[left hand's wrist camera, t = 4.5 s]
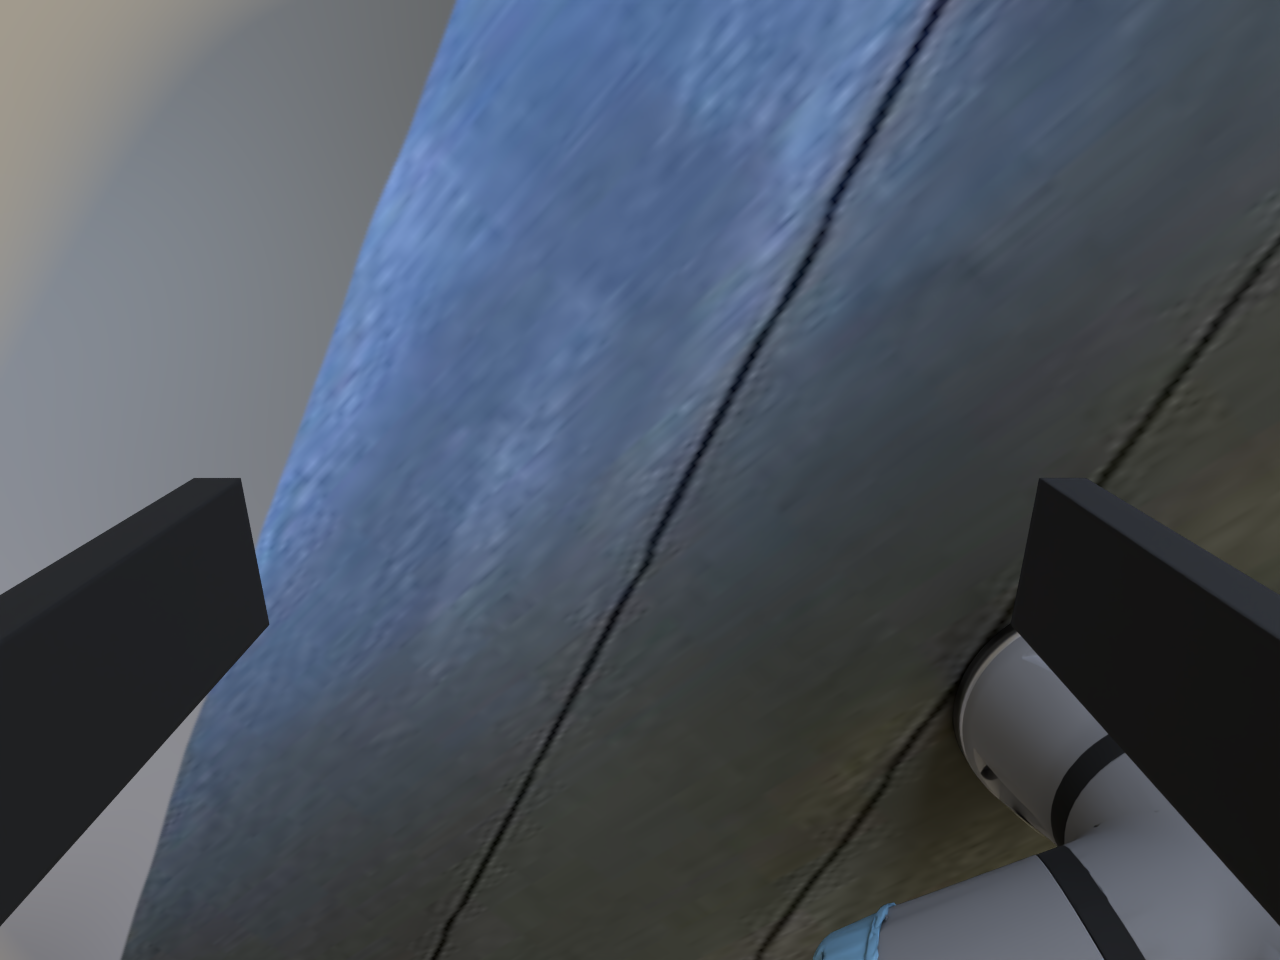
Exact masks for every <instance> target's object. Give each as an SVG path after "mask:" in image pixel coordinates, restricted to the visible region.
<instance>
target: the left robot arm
mask: <svg viewBox="0 0 1280 960" xmlns="http://www.w3.org/2000/svg"><path fill="white" fill-rule="evenodd" d="M268 626H269V620H268V615H267V610H266V605H265V600H264V595H263V590H262V585H261V579H260V574H259V569H258V564H257V559H256V554H255V549H254V544H253V539H252V534H251V528H250V523H249V518H248V513H247V508H246V503H245V498H244V493H243V488H242V482H241V478H193V479H192V480H190V481H188V482H187V483H185V484H184V485H182V486H180V487H179V488H177V489H175V490H174V491H172V492H170V493H169V494H167V495H165V496H164V497H162V498H160V499H159V500H157V501H155V502H154V503H152V504H151V505H149V506H147V507H145V508H144V509H142V510H140V511H139V512H137V513H136V514H134V515H132V516H131V517H129V518H127V519H126V520H124V521H122V522H121V523H119V524H117V525H116V526H114V527H112V528H111V529H109V530H107V531H106V532H104V533H102V534H101V535H99V536H97V537H96V538H94V539H93V540H91V541H89V542H87V543H86V544H84V545H82V546H81V547H79V548H78V549H76V550H74V551H73V552H71V553H69V554H68V555H66V556H64V557H63V558H61V559H59V560H58V561H56V562H54V563H53V564H51V565H49V566H48V567H46V568H44V569H43V570H41V571H39V572H38V573H36V574H35V575H33V576H31V577H29V578H28V579H26V580H24V581H23V582H21V583H20V584H18V585H16V586H15V587H13V588H11V589H10V590H8V591H6V592H5V593H3V594H1V595H0V926H1V925H2V924H3V923H4V922H5V920H6V919H7V918H8V917H9V916H10V915H11V914H12V913H13V911H14V910H15V909H16V908H17V907H18V906H19V905H20V904H21V902H22V901H23V900H24V899H25V898H26V897H27V896H28V895H29V893H30V892H31V891H32V890H33V889H34V888H35V887H36V886H37V885H38V883H39V882H40V881H41V880H42V879H43V878H44V877H45V875H46V874H47V873H48V872H49V871H50V870H51V869H52V868H53V867H54V865H55V864H56V863H57V862H58V861H59V860H60V859H61V858H62V856H63V855H64V854H65V853H66V852H67V851H68V850H69V849H70V848H71V846H72V845H73V844H74V843H75V842H76V841H77V840H78V839H79V837H80V836H81V835H82V834H83V833H84V832H85V831H86V830H87V828H88V827H89V826H90V825H91V824H92V823H93V822H94V821H95V819H96V818H97V817H98V816H99V815H100V814H101V813H102V812H103V810H104V809H105V808H106V807H107V806H108V805H109V804H110V803H111V802H112V800H113V799H114V798H115V797H116V796H117V795H118V794H119V793H120V791H121V790H122V789H123V788H124V787H125V786H126V785H127V784H128V782H129V781H130V780H131V779H132V778H133V777H134V776H135V775H136V774H137V772H138V771H139V770H140V769H141V768H142V767H143V766H144V765H145V763H146V762H147V761H148V760H149V759H150V758H151V757H152V756H153V754H154V753H155V752H156V751H157V750H158V749H159V748H160V747H161V745H162V744H163V743H164V742H165V741H166V740H167V739H168V738H169V737H170V735H171V734H172V733H173V732H174V731H175V730H176V729H177V728H178V726H179V725H180V724H181V723H182V722H183V721H184V720H185V719H186V717H187V716H188V715H189V714H190V713H191V712H192V711H193V710H194V708H195V707H196V706H197V705H198V704H199V703H200V702H201V701H202V700H203V698H204V697H205V696H206V695H207V694H208V693H209V692H210V691H211V689H212V688H213V687H214V686H215V685H216V684H217V683H218V682H219V680H220V679H221V678H222V677H223V676H224V675H225V674H226V673H227V671H228V670H229V669H230V668H231V667H232V666H233V665H234V664H235V663H236V661H237V660H238V659H239V658H240V657H241V656H242V655H243V654H244V652H245V651H246V650H247V649H248V648H249V647H250V646H251V645H252V643H253V642H254V641H255V640H256V639H257V638H258V637H259V636H260V634H261V633H262V632H263V631H264V630H265V629H266V628H267V627H268ZM953 724H954V731H955V735H956V739H957V742H958V745H959V747H960V749H961V751H962V753H963V755H964V756H965V758H966V760H967V761H968V763H969V765H970V766H971V768H972V770H973V772H974V773H975V774H976V776H977V777H978V778H979V779H980V780H981V781H982V783H983V784H984V785H985V786H986V787H987V788H988V790H989V791H990V792H991V793H992V794H993V795H995V796H996V797H997V798H998V799H999V800H1000V801H1002V802H1003V803H1004V804H1005V805H1007V806H1008V807H1009V808H1011V809H1012V810H1013V811H1014V812H1016V813H1017V814H1018V815H1019V816H1021V817H1022V818H1023V819H1024V820H1026V821H1027V822H1028V823H1029V824H1031V825H1032V826H1033V827H1035V828H1036V829H1037V830H1038V831H1040V832H1041V833H1042V834H1043V835H1045V836H1046V837H1047V838H1048V839H1050V840H1051V841H1052V842H1053V843H1055V844H1056V845H1057V847H1056V848H1054V849H1051V850H1048V851H1046V852H1043V853H1040V854H1037V855H1033V856H1030V857H1028V858H1025V859H1022V860H1019V861H1017V862H1014V863H1011V864H1009V865H1006V866H1003V867H1000V868H998V869H995V870H992V871H989V872H987V873H984V874H981V875H978V876H976V877H973V878H970V879H967V880H965V881H962V882H959V883H957V884H954V885H951V886H948V887H946V888H943V889H940V890H937V891H935V892H932V893H929V894H926V895H924V896H921V897H918V898H916V899H913V900H910V901H907V902H904V903H901V904H898V905H896V904H895V903H888V904H886V905H884V906H882V907H881V908H880V909H879V910H878V912H877V913H875V914H872V915H870V916H868V917H866V918H863V919H861V920H859V921H857V922H854V923H852V924H850V925H848V926H846V927H843V928H841V929H839V930H836V931H834V932H832V933H831V934H829V935H828V936H827V937H826V938H825V939H824V940H823V941H822V942H821V943H820V945H819V946H818V948H817V949H816V952H815V954H814V957H813V960H1280V595H1279V594H1277V593H1275V592H1274V591H1272V590H1270V589H1269V588H1267V587H1265V586H1264V585H1262V584H1260V583H1259V582H1257V581H1256V580H1254V579H1252V578H1251V577H1249V576H1247V575H1246V574H1244V573H1242V572H1241V571H1239V570H1237V569H1236V568H1234V567H1232V566H1231V565H1229V564H1227V563H1226V562H1224V561H1222V560H1221V559H1219V558H1217V557H1216V556H1214V555H1212V554H1211V553H1209V552H1207V551H1206V550H1204V549H1202V548H1201V547H1199V546H1198V545H1196V544H1194V543H1193V542H1191V541H1189V540H1188V539H1186V538H1184V537H1183V536H1181V535H1179V534H1178V533H1176V532H1174V531H1173V530H1171V529H1169V528H1168V527H1166V526H1164V525H1163V524H1161V523H1159V522H1158V521H1156V520H1154V519H1153V518H1151V517H1149V516H1148V515H1146V514H1145V513H1143V512H1141V511H1140V510H1138V509H1136V508H1135V507H1133V506H1131V505H1130V504H1128V503H1126V502H1125V501H1123V500H1121V499H1120V498H1118V497H1116V496H1115V495H1113V494H1111V493H1110V492H1108V491H1106V490H1105V489H1103V488H1101V487H1100V486H1098V485H1096V484H1095V483H1093V482H1092V481H1090V480H1088V479H1087V478H1039V482H1038V487H1037V493H1036V498H1035V503H1034V508H1033V513H1032V518H1031V523H1030V528H1029V533H1028V539H1027V544H1026V549H1025V554H1024V559H1023V564H1022V569H1021V574H1020V579H1019V585H1018V590H1017V595H1016V600H1015V605H1014V610H1013V615H1012V620H1011V624H1010V625H1008V626H1007V627H1005V628H1004V629H1003V630H1001V631H1000V632H999V633H998V634H997V635H995V636H994V637H993V638H992V639H991V640H990V641H989V642H988V643H987V644H986V645H985V646H984V647H983V648H982V649H981V650H980V651H979V653H978V654H977V655H976V656H975V658H974V659H973V661H972V662H971V663H970V665H969V666H968V668H967V670H966V672H965V674H964V675H963V678H962V680H961V682H960V684H959V687H958V690H957V693H956V697H955V702H954V711H953ZM1013 811H1012V812H1013ZM1018 815H1017V816H1018ZM1019 816H1018V817H1019ZM1023 819H1022V820H1023ZM1024 820H1023V821H1024ZM1024 822H1025V821H1024ZM1029 824H1028V825H1029ZM1029 826H1030V825H1029ZM1033 829H1034V828H1033ZM1034 830H1035V829H1034ZM1035 831H1036V830H1035ZM1039 834H1040V833H1039ZM1040 835H1041V834H1040Z"/></svg>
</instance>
